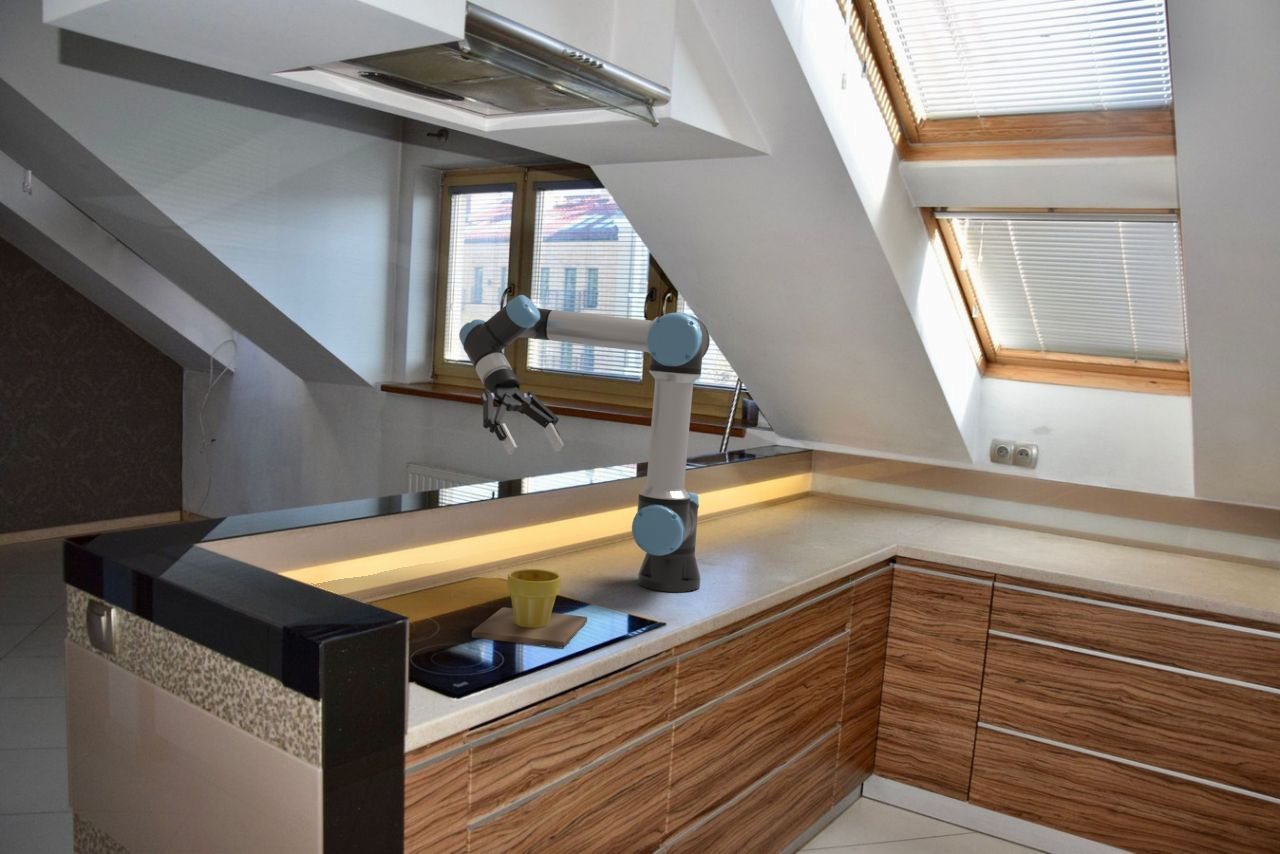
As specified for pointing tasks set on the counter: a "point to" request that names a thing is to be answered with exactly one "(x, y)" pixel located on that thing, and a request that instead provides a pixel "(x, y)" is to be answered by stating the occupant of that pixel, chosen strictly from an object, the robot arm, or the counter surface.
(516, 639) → the walnut board
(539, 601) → the plant pot
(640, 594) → the counter surface
